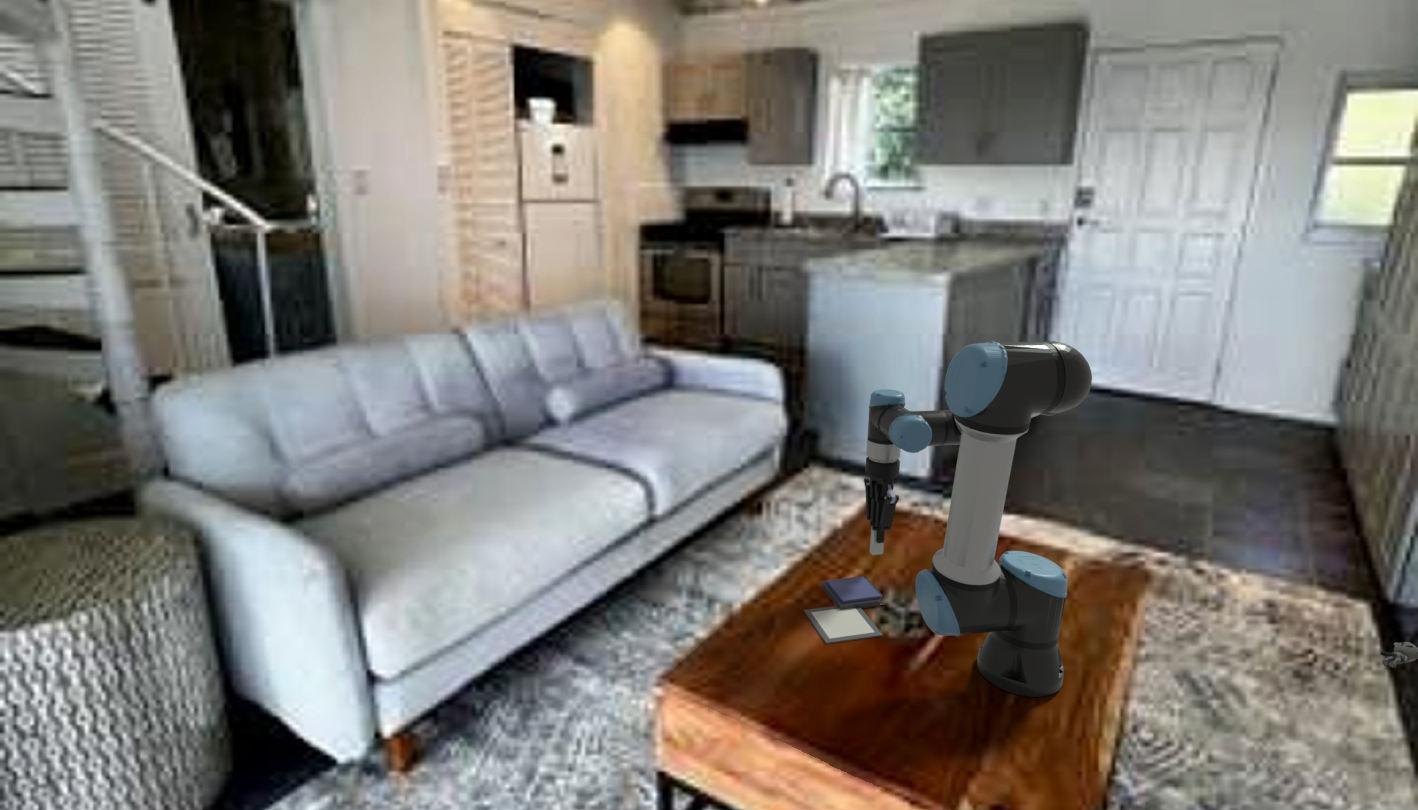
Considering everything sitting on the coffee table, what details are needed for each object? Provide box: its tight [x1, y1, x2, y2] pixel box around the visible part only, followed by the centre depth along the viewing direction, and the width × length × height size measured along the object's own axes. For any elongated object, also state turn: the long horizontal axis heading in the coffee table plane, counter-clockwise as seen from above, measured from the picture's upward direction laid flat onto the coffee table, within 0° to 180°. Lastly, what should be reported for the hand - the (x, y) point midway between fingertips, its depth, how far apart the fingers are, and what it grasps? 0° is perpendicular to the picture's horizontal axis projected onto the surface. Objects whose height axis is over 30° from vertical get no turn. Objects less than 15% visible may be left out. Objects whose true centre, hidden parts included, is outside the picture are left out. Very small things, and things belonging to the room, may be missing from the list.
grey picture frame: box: [803, 605, 884, 645], centre depth 159 cm, size 12×12×1 cm
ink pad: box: [820, 575, 884, 610], centre depth 170 cm, size 11×11×2 cm
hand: (876, 553), depth 177 cm, fingers closed
